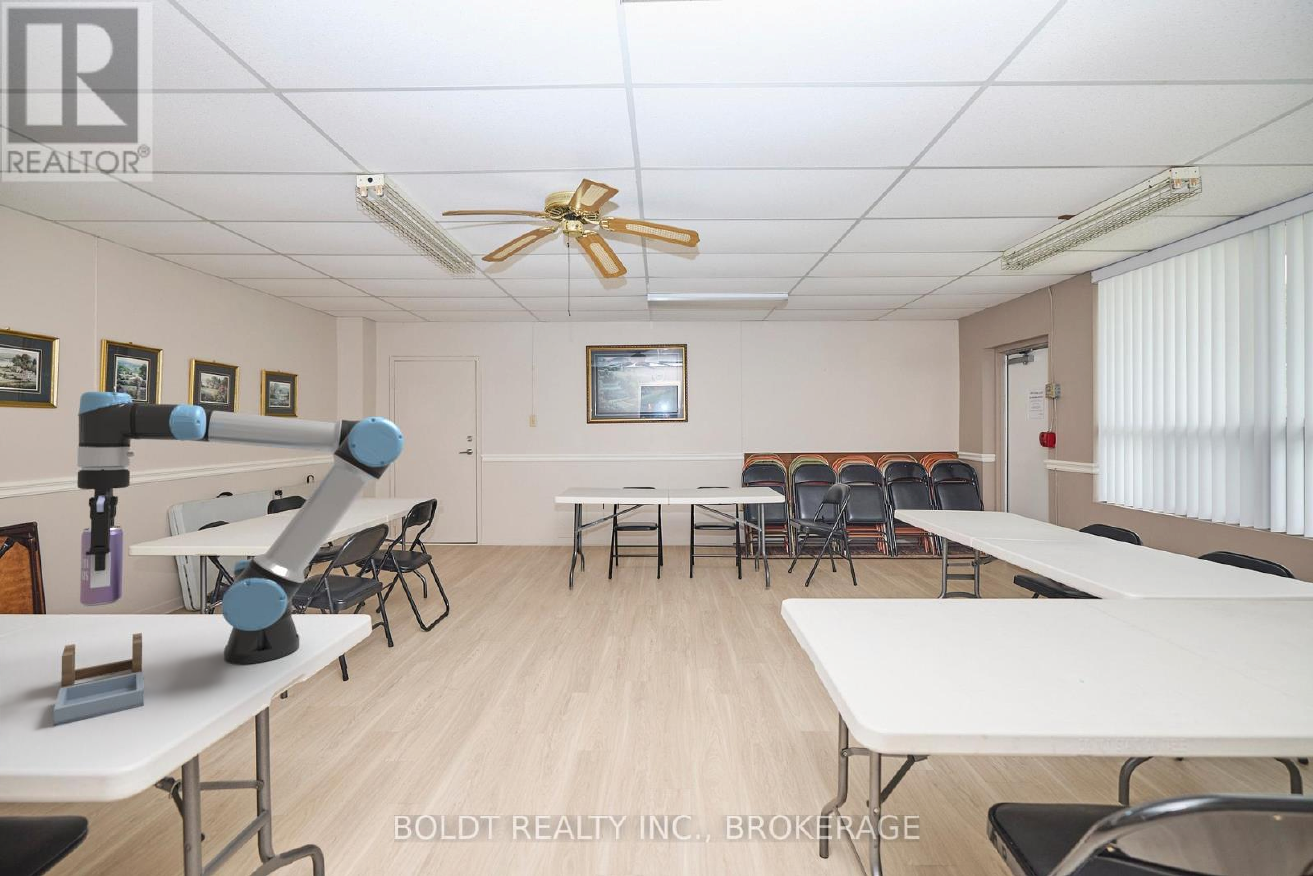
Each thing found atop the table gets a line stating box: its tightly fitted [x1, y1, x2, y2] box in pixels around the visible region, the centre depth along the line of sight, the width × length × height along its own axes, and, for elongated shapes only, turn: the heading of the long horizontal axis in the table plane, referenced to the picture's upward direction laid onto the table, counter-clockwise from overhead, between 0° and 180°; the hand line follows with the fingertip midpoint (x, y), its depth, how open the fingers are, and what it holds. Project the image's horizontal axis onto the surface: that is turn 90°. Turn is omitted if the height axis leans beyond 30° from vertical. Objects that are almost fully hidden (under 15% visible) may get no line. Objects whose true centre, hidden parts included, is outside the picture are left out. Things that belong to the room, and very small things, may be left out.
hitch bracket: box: [60, 632, 143, 688], centre depth 121 cm, size 11×12×8 cm
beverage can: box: [79, 525, 124, 607], centre depth 113 cm, size 6×6×15 cm
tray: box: [53, 670, 145, 727], centre depth 110 cm, size 12×12×3 cm
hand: (102, 583), depth 113 cm, fingers closed on beverage can, 6 cm apart
